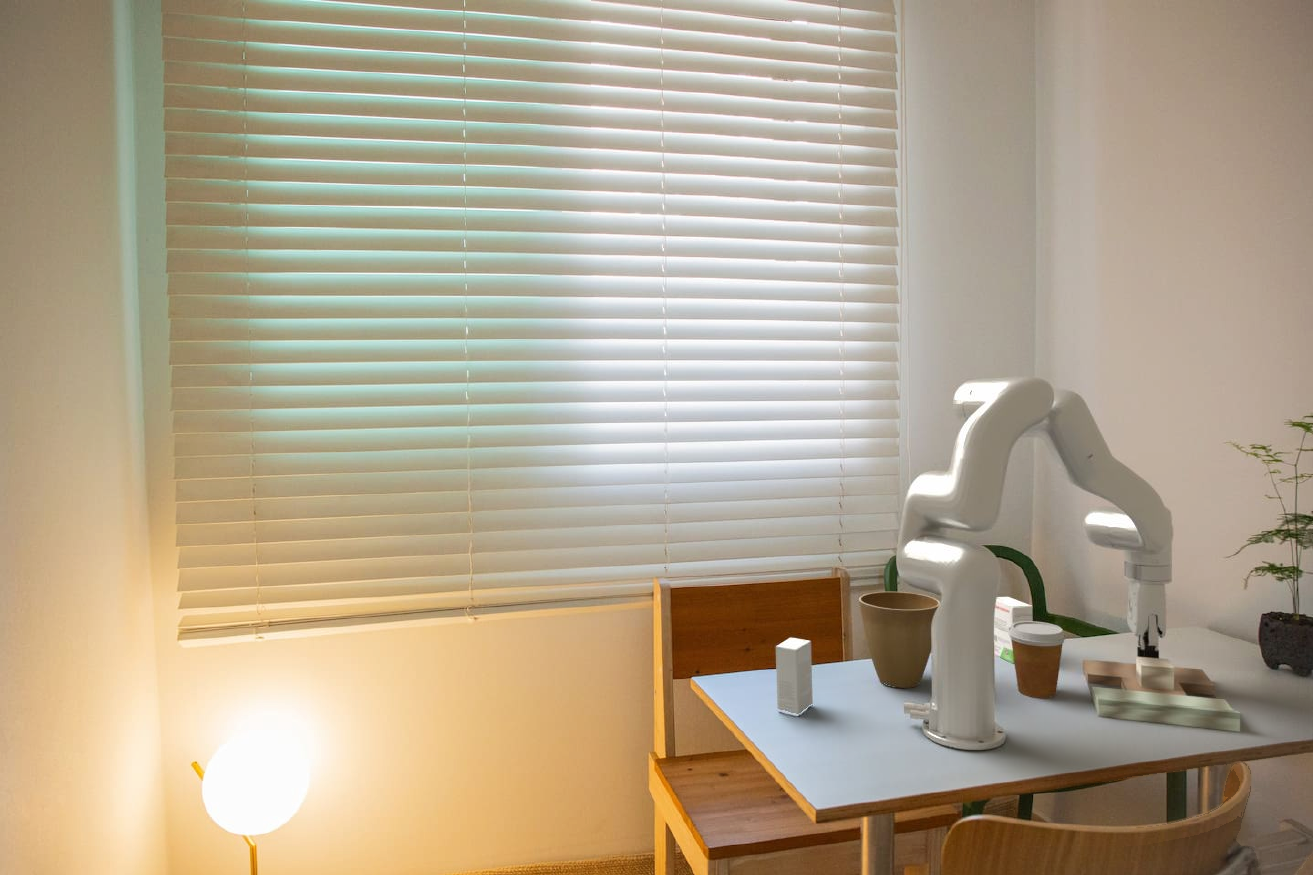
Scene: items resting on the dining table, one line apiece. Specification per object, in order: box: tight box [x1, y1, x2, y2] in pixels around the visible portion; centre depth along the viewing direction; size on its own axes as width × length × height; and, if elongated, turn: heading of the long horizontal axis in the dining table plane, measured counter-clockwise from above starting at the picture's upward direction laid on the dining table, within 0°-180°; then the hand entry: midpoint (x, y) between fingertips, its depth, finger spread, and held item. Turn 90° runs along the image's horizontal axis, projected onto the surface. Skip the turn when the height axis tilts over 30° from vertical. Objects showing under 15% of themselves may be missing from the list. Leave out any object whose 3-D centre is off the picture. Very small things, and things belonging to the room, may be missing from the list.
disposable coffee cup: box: [1008, 621, 1067, 699], centre depth 149 cm, size 10×10×12 cm
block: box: [1135, 656, 1175, 690], centre depth 146 cm, size 5×5×4 cm
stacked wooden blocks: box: [1082, 658, 1241, 733], centre depth 145 cm, size 20×25×3 cm
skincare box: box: [775, 637, 814, 714], centre depth 144 cm, size 6×4×12 cm
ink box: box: [994, 596, 1034, 665], centre depth 169 cm, size 9×5×12 cm, turn 11°
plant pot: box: [858, 591, 941, 689], centre depth 156 cm, size 15×15×16 cm
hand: (1148, 669), depth 150 cm, fingers closed
